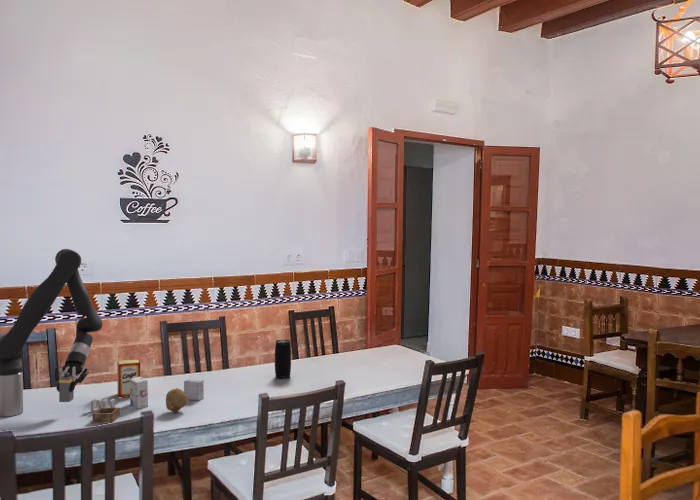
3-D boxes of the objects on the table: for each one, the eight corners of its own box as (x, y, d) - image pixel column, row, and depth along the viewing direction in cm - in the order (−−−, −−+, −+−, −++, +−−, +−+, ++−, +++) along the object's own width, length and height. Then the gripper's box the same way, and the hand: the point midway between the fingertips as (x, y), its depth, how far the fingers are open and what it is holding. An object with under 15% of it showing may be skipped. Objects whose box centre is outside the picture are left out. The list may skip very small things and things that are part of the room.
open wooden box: (92, 422, 221) (92, 414, 221) (100, 416, 229) (100, 407, 229) (112, 422, 221) (112, 413, 221) (120, 416, 229) (120, 407, 229)
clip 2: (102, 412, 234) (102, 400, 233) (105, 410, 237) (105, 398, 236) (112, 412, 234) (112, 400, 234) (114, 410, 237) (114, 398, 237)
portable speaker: (290, 374, 297) (290, 338, 297) (291, 379, 288) (291, 342, 287) (274, 375, 296) (274, 339, 295) (275, 379, 287) (275, 342, 286)
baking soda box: (138, 391, 264) (138, 358, 264) (140, 395, 258) (140, 361, 258) (117, 394, 260) (117, 360, 259) (118, 397, 254) (118, 363, 253)
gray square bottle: (58, 402, 227) (59, 374, 227) (63, 399, 231) (64, 371, 231) (69, 402, 227) (69, 374, 227) (73, 399, 231) (74, 372, 231)
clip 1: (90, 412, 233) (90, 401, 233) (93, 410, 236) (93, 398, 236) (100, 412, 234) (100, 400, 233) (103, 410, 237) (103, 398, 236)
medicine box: (204, 398, 255) (204, 379, 254) (198, 401, 250) (198, 382, 250) (189, 396, 257) (188, 378, 256) (183, 399, 252) (183, 380, 252)
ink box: (129, 404, 245) (129, 378, 244) (140, 402, 248) (140, 376, 248) (137, 408, 239) (137, 382, 238) (148, 406, 242) (148, 379, 242)
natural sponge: (190, 408, 240) (190, 385, 240) (184, 415, 231) (184, 391, 231) (169, 408, 240) (168, 385, 239) (162, 415, 231) (162, 391, 230)
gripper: (58, 350, 236) (43, 386, 224) (92, 351, 237) (79, 386, 225) (63, 359, 241) (49, 395, 229) (96, 360, 242) (84, 395, 230)
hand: (64, 390), depth 227 cm, fingers closed on gray square bottle, 4 cm apart
